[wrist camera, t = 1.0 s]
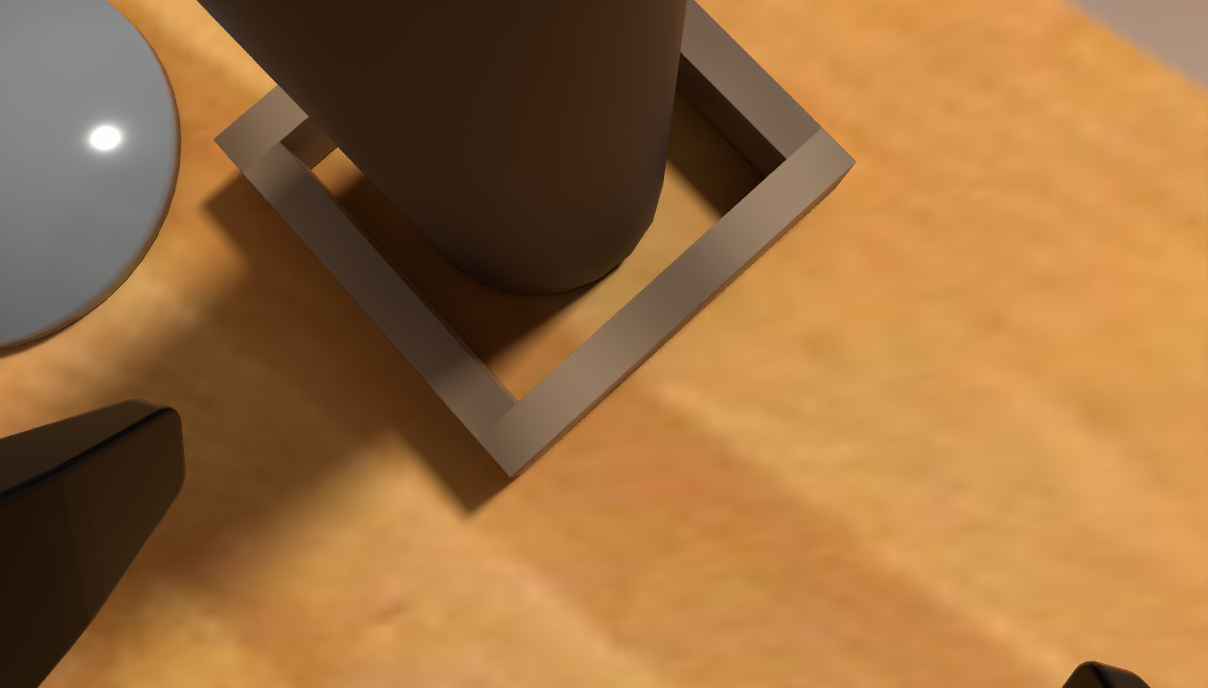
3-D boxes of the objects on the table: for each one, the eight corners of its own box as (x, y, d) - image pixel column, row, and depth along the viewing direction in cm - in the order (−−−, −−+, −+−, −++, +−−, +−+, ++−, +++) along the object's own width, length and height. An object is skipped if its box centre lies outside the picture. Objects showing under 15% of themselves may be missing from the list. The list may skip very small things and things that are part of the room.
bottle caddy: (520, 474, 21) (510, 477, 19) (250, 166, 22) (213, 139, 20) (835, 187, 22) (856, 161, 20) (555, -94, 23) (548, -145, 21)
